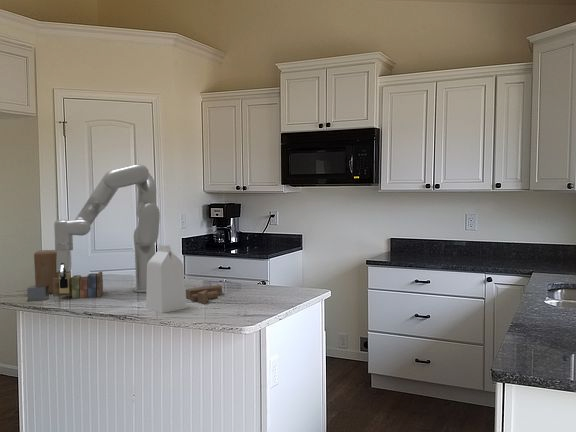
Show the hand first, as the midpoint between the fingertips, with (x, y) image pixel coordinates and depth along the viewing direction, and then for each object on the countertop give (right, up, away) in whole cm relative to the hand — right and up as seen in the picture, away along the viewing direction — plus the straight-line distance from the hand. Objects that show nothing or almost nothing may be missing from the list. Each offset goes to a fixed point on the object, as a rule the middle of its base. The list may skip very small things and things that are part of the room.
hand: (65, 286), depth 248 cm
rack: (+4, -5, +4) cm, 7 cm away
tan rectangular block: (0, -3, 0) cm, 3 cm away
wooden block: (-14, -5, +14) cm, 20 cm away
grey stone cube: (-11, -6, -2) cm, 13 cm away
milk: (+51, -6, -25) cm, 58 cm away
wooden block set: (+67, -5, -8) cm, 68 cm away
